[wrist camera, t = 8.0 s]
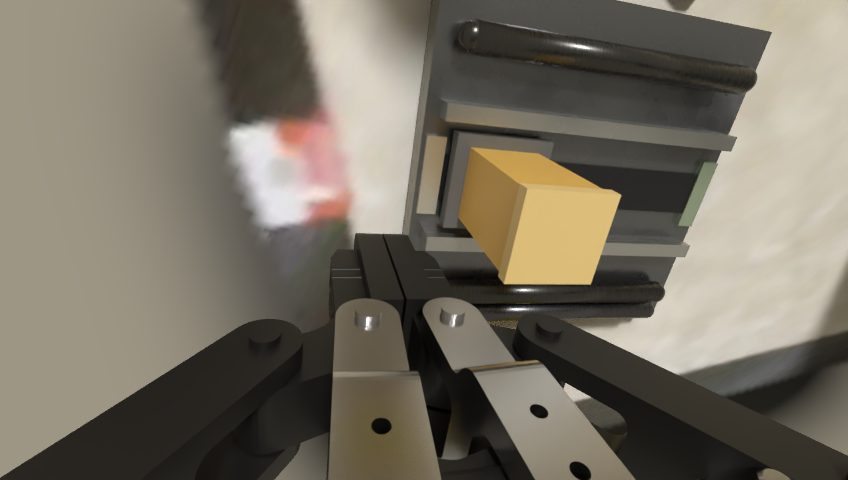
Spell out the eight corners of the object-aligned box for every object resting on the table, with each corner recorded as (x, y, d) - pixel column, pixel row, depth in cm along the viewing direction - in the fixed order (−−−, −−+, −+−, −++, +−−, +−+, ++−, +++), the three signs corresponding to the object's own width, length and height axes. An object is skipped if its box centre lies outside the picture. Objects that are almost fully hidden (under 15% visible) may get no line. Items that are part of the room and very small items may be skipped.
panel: (746, 32, 24) (798, 32, 21) (636, 304, 31) (665, 329, 28) (435, -31, 19) (453, -40, 17) (392, 307, 26) (400, 336, 24)
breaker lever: (546, 139, 22) (639, 182, 16) (524, 225, 24) (599, 295, 17) (454, 129, 21) (514, 173, 14) (439, 221, 23) (486, 295, 16)
